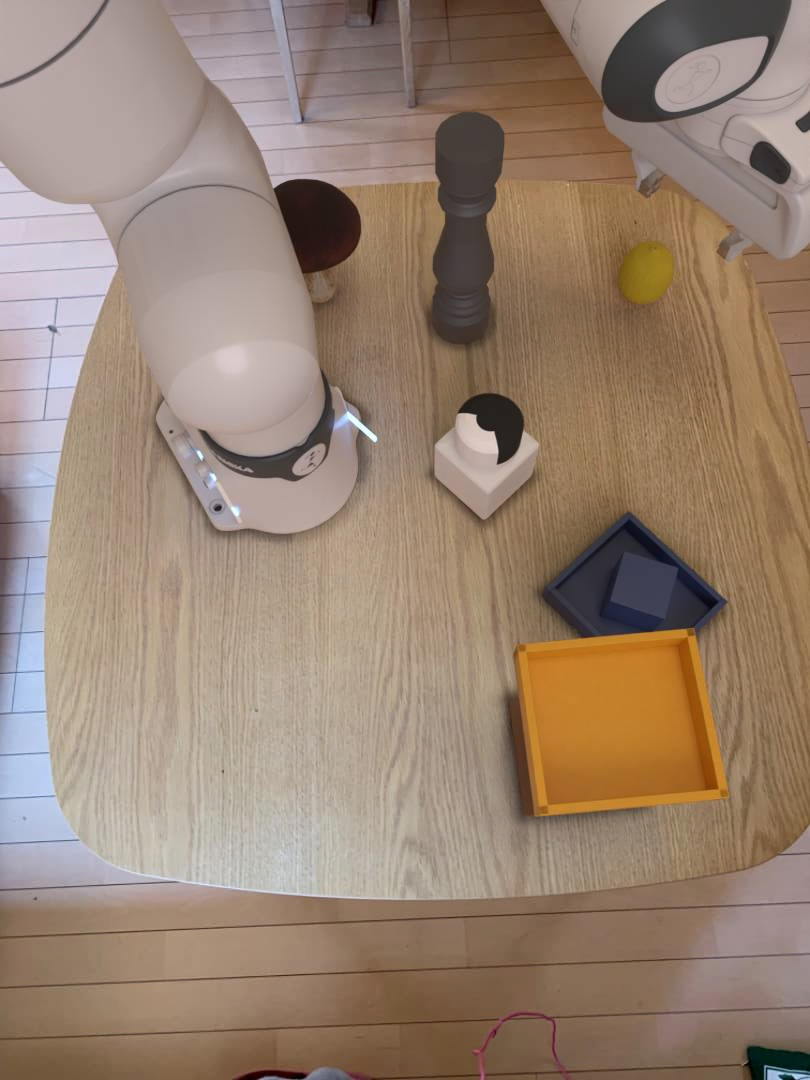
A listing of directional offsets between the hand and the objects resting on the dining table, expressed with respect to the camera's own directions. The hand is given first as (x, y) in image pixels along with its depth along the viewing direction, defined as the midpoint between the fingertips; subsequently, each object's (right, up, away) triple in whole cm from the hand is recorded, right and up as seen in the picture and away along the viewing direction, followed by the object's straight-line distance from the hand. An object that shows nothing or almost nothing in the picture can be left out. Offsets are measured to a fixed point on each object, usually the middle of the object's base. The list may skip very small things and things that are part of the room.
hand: (686, 221), depth 74 cm
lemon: (+1, -1, +19) cm, 19 cm away
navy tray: (-3, -34, +7) cm, 35 cm away
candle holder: (-18, -4, +18) cm, 26 cm away
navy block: (-3, -33, +6) cm, 34 cm away
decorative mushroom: (-34, -1, +20) cm, 39 cm away
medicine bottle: (-17, -21, +12) cm, 30 cm away
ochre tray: (-10, -47, +2) cm, 48 cm away
